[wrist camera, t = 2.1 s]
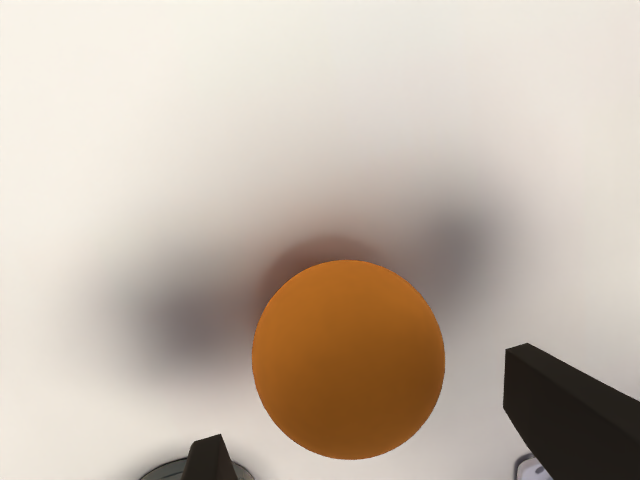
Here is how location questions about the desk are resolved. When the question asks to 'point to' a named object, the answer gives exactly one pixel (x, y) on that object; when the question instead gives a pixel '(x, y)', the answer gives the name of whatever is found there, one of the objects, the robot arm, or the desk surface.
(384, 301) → the ball
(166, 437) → the desk surface
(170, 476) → the cup
